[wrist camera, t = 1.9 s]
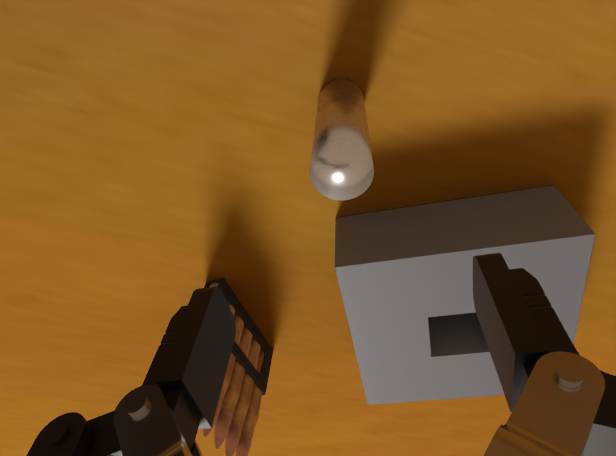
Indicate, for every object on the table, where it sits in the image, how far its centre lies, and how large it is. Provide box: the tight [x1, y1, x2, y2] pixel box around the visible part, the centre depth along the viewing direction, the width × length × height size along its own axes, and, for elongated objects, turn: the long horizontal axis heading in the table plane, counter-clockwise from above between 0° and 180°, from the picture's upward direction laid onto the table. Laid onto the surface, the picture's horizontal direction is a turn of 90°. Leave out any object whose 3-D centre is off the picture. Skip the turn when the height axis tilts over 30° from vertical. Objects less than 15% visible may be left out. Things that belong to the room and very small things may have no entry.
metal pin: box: [310, 79, 374, 200], centre depth 24 cm, size 3×3×10 cm
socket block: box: [335, 185, 595, 405], centre depth 34 cm, size 16×16×6 cm
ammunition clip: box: [203, 278, 273, 456], centre depth 36 cm, size 11×2×12 cm, turn 22°
